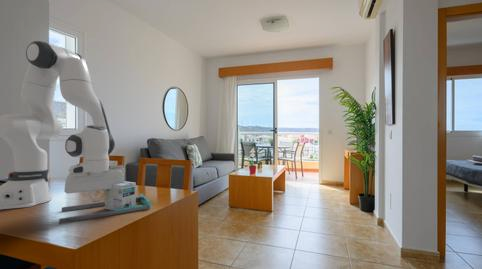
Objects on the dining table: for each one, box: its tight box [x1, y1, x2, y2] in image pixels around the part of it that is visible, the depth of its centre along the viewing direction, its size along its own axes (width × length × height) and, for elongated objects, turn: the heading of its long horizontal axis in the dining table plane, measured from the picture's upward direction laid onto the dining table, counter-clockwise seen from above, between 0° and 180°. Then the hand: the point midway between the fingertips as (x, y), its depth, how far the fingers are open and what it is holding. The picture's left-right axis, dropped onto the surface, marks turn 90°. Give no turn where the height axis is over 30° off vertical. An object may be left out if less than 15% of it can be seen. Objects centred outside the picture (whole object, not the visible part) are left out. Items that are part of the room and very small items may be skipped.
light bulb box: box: [104, 180, 137, 211], centre depth 99 cm, size 11×7×11 cm, turn 66°
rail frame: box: [58, 193, 152, 225], centre depth 97 cm, size 30×16×3 cm, turn 124°
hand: (95, 201), depth 95 cm, fingers closed
